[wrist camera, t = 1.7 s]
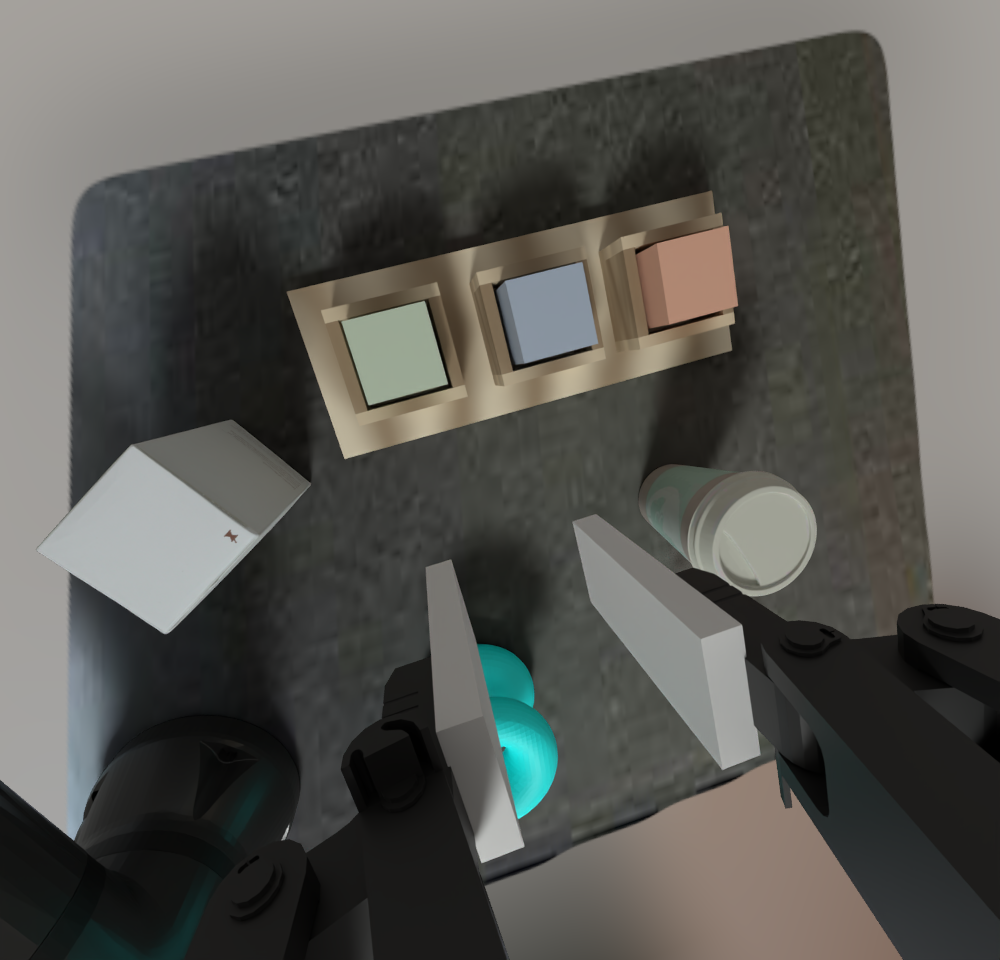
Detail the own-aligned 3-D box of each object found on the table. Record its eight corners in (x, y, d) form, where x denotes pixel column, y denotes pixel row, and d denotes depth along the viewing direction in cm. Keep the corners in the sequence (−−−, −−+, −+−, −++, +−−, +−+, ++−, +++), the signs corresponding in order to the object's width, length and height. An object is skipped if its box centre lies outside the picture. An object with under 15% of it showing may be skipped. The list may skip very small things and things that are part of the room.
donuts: (434, 855, 33) (407, 737, 31) (429, 748, 43) (409, 651, 41) (569, 817, 35) (554, 700, 32) (536, 721, 44) (522, 626, 42)
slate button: (512, 364, 34) (524, 363, 30) (494, 292, 33) (505, 280, 29) (577, 347, 34) (598, 343, 31) (562, 275, 33) (582, 261, 29)
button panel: (346, 456, 36) (336, 469, 32) (290, 294, 33) (269, 280, 29) (724, 351, 40) (766, 347, 35) (704, 195, 37) (747, 168, 32)
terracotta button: (641, 330, 35) (669, 324, 31) (629, 258, 34) (656, 243, 30) (702, 313, 36) (738, 305, 32) (693, 242, 34) (728, 225, 30)
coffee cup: (621, 455, 40) (704, 487, 29) (713, 442, 42) (828, 468, 30) (625, 549, 42) (704, 615, 31) (713, 534, 44) (821, 592, 32)
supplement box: (232, 415, 34) (132, 437, 22) (314, 483, 36) (264, 538, 24) (162, 488, 35) (27, 550, 22) (248, 552, 37) (166, 640, 24)
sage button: (373, 402, 33) (368, 405, 29) (350, 328, 32) (341, 321, 28) (443, 383, 33) (447, 384, 30) (423, 309, 32) (424, 300, 28)
